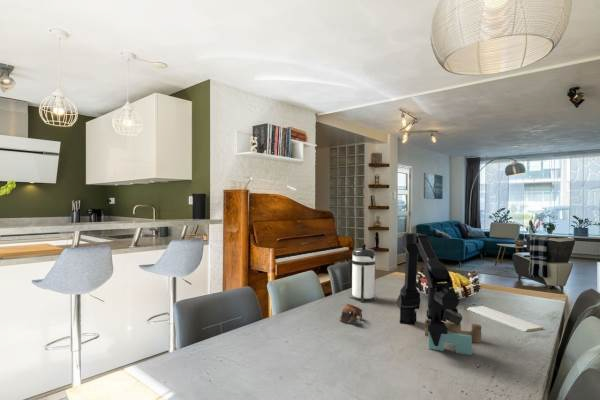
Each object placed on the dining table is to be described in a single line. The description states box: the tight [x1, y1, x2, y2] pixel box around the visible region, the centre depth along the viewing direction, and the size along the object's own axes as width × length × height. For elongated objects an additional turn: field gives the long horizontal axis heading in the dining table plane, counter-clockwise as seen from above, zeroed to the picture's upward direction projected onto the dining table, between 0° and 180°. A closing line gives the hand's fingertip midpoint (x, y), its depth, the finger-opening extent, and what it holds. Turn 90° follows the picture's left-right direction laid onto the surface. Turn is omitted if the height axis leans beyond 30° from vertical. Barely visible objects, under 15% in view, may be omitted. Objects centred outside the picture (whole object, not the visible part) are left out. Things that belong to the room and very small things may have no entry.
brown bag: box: [339, 303, 363, 325], centre depth 153 cm, size 12×10×8 cm
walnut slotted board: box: [424, 318, 482, 344], centre depth 136 cm, size 20×2×6 cm, turn 71°
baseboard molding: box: [464, 303, 544, 333], centre depth 160 cm, size 31×3×12 cm
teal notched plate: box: [428, 332, 473, 356], centre depth 124 cm, size 14×2×6 cm, turn 71°
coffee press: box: [347, 243, 378, 303], centre depth 190 cm, size 17×16×30 cm
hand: (436, 344), depth 126 cm, fingers closed on teal notched plate, 2 cm apart
